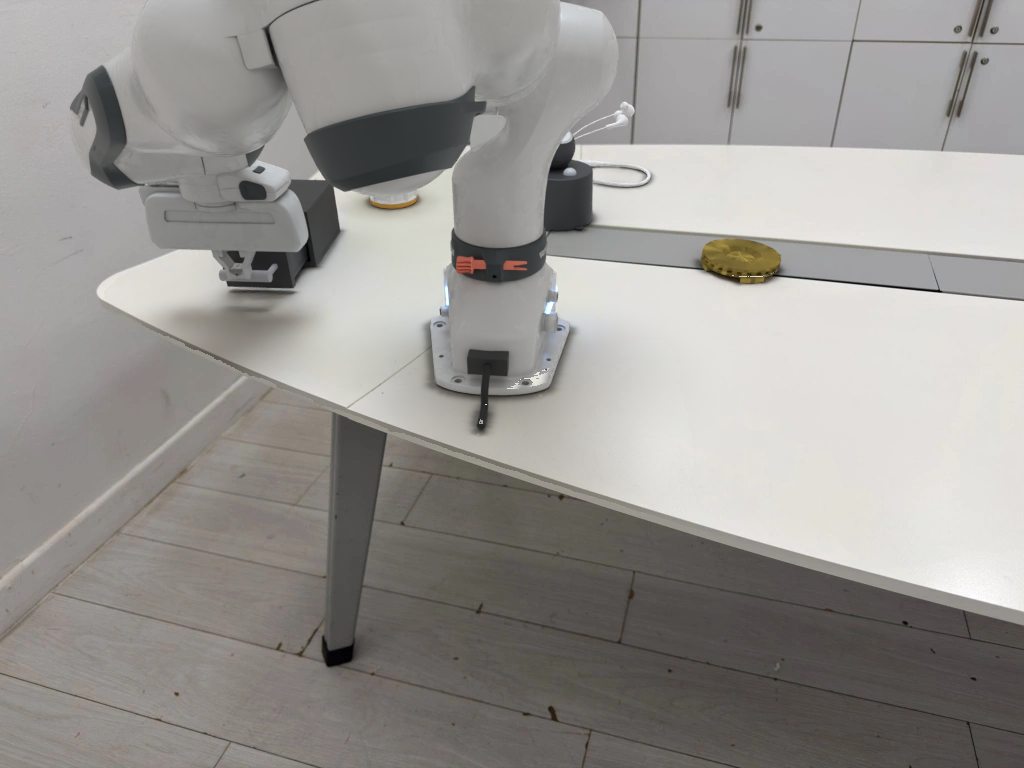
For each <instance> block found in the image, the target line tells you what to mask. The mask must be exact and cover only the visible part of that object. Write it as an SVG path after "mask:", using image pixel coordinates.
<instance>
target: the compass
mask: <svg viewBox="0 0 1024 768" xmlns="http://www.w3.org/2000/svg"><path fill="white" fill-rule="evenodd" d="M700 256H701V257H700V266H701V268H702V269H703V270H704V272H711V271H713V272H715V273H718V274H720V275H724V276H727V277H732V278H735V279H736V278H737V279H739V284H761V283H764V280H765V278H767V277H770V276H771V277H772V276H773V275H775V274H776V273H777V272H779V269H780V265H781V262H782V256H781V254H780V253H779V251H777V250H776V249H775V248H773V247H771V246H770V245H767V244H765V243H762V242H758V241H754V240H751V239H744V238H734V237H733V238H730V237H729V238H718V239H714V240H711V241H709V242H707V243H705V244H704V245H703V247H702V251H701V255H700ZM776 270H777V271H776ZM775 271H776V272H775ZM773 272H775V273H773ZM771 273H773V274H771ZM768 274H770V275H768ZM732 275H734V276H732ZM763 275H767V276H763ZM739 276H747V277H739ZM748 276H749V277H748ZM750 276H763V277H750Z"/></svg>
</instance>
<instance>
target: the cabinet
mask: <svg viewBox="0 0 1024 768" xmlns="http://www.w3.org/2000/svg"><path fill="white" fill-rule="evenodd" d="M288 189H290V190H291V191H293V192H294V193H295V194H296V196H297V197H298V199H299V201H300V204H301V206H302V209H303V213H304V216H305V220H306V224H307V229H308V240H307V244H308V249H309V254H310V256H309V258H308V259H307V260H306V262H305V263H304V265H303V266H302V267H308V268H309V267H315V268H316V267H318V265H319V264H320V262H321V261H322V260H323V258H324V256H325V255H326V253H327V252H328V250H329V249H330V247H331V246H332V244H333V243H334V241H335V240H336V238H337V236H338V235H339V234H340V232H341V227H340V221H339V220H340V219H339V213H338V207H337V206H338V205H337V201H336V200H337V199H336V194H335V187H333V186H331V185H329V184H328V183H327V181H326V180H325V179H294V178H293V179H292V178H291V183H290V185H289V187H288Z"/></svg>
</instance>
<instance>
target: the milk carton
mask: <svg viewBox="0 0 1024 768" xmlns="http://www.w3.org/2000/svg"><path fill="white" fill-rule="evenodd" d="M505 123H506V119H505V117H503V116H501V115H498V111H497V115H478V116H476V117H474V120H473V125H472V130H471V134H470V138H469V143H470V144H469V145H470V149H469V150H471V149H472V148H474V147H476V146H478V145H480V144H482V143H484V142H486V141H488V140H490V139H492V138H493V137H495V136H496V135H497V134H499V133H500V132H501V130H502V129H503V128H504V126H505Z"/></svg>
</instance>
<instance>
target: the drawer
mask: <svg viewBox="0 0 1024 768" xmlns="http://www.w3.org/2000/svg"><path fill="white" fill-rule="evenodd" d="M227 254H228V255H229V256H230V258H231V259H232V260H233V261H234V263H243V262H244V259H245V257H244V258H241V257H240V254H239V251H228V252H227ZM309 256H310V254H309V249H308V244H307V242H306V243H305V245H304V246H303V247H302V248H301V249H300V250H299V251H298V252H271V251H256V253H255V255H254V258H253V260H252V263H251V267H252V272H253V276H252V277H251V278H250V280H247V279H228V278H227V274H226V271H225V268H223V267H222V268H221V269H220V270H219V272H218V278H219V280H220V281H221V282H226V285H227V287H228V288H229V287H230V288H234V287H235V288H260V289H261V288H265V289H294V288H295V287H296V285H297V283H296V280H295V279H296V276H297V275H298V273H300V271H301V269H302V268H303V267H304V266H303V265H304V263H305V262H306V260H307V259H308V258H309Z"/></svg>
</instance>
